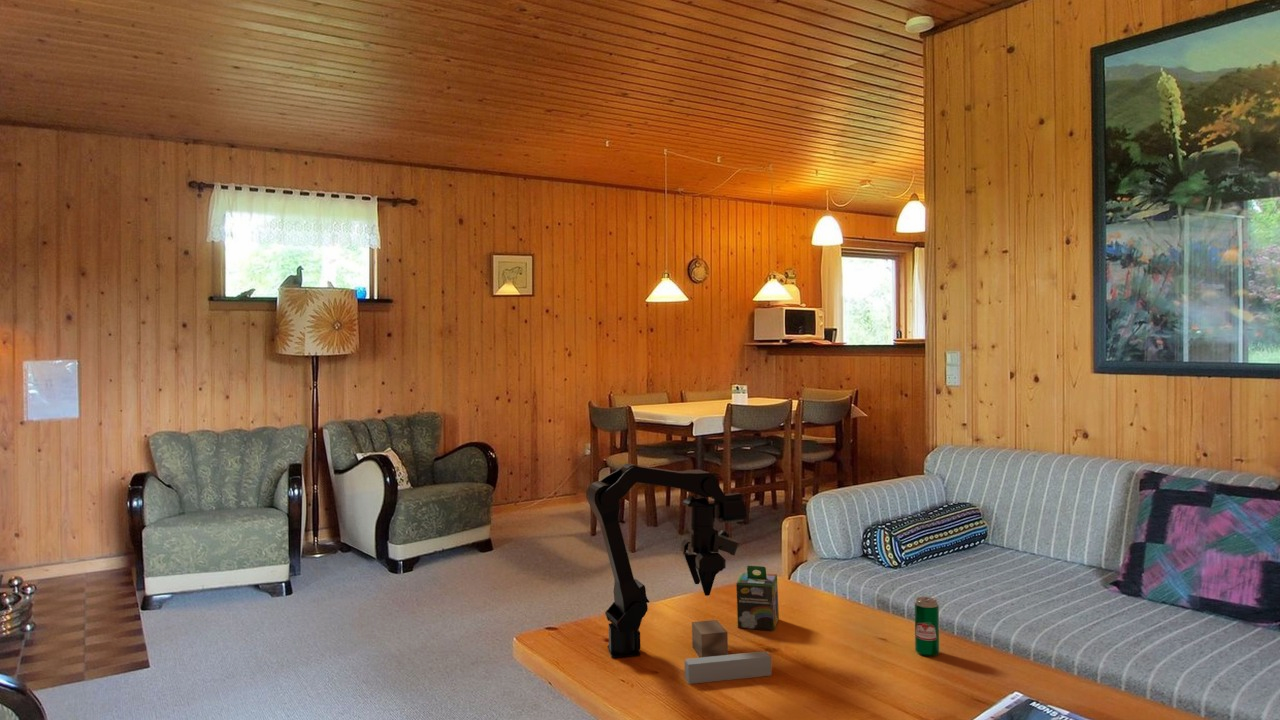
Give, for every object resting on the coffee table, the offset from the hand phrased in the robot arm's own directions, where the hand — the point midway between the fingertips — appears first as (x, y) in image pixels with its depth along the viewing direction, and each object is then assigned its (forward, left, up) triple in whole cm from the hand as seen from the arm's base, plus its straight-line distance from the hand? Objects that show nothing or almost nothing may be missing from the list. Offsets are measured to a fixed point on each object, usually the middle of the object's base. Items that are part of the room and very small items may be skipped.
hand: (702, 589), depth 185 cm
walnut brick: (-1, -8, -12) cm, 15 cm away
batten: (-1, -22, -12) cm, 25 cm away
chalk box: (+16, +7, -12) cm, 21 cm away
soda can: (+46, -20, -12) cm, 52 cm away
